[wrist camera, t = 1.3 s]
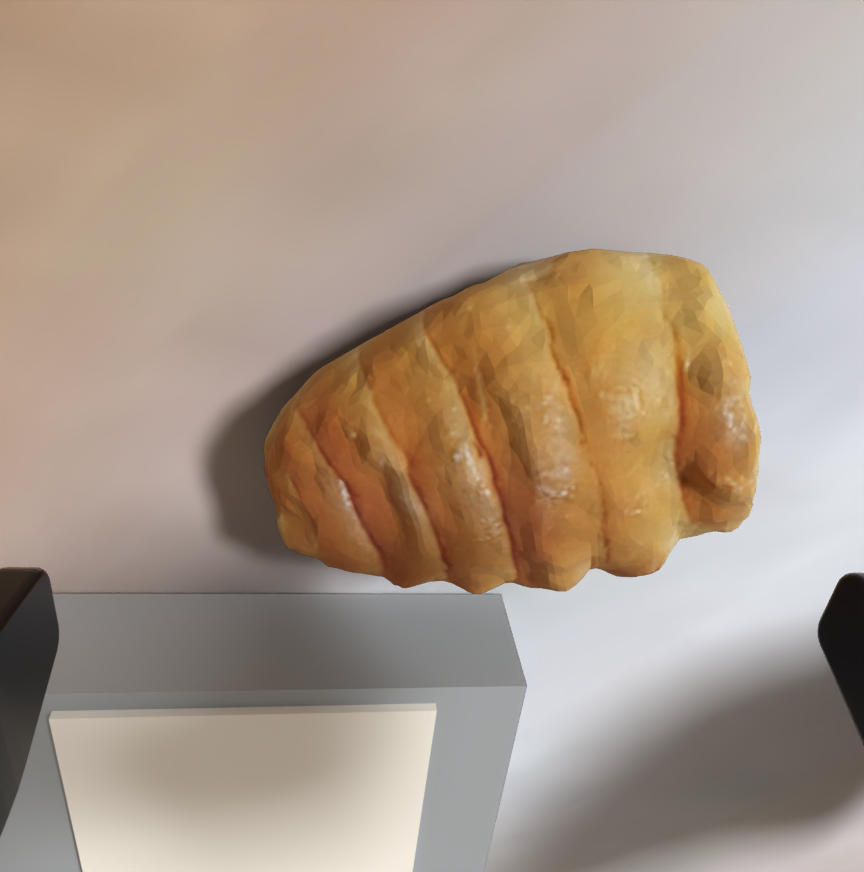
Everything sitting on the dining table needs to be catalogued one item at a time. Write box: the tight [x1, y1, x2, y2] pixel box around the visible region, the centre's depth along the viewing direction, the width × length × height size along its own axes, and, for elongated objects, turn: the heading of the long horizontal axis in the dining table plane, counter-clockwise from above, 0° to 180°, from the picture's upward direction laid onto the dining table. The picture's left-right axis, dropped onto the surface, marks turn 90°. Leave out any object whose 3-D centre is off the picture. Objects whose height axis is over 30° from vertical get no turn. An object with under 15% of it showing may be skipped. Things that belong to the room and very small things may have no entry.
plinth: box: [0, 593, 527, 872], centre depth 20 cm, size 12×12×3 cm
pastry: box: [264, 249, 761, 594], centre depth 14 cm, size 9×7×4 cm
